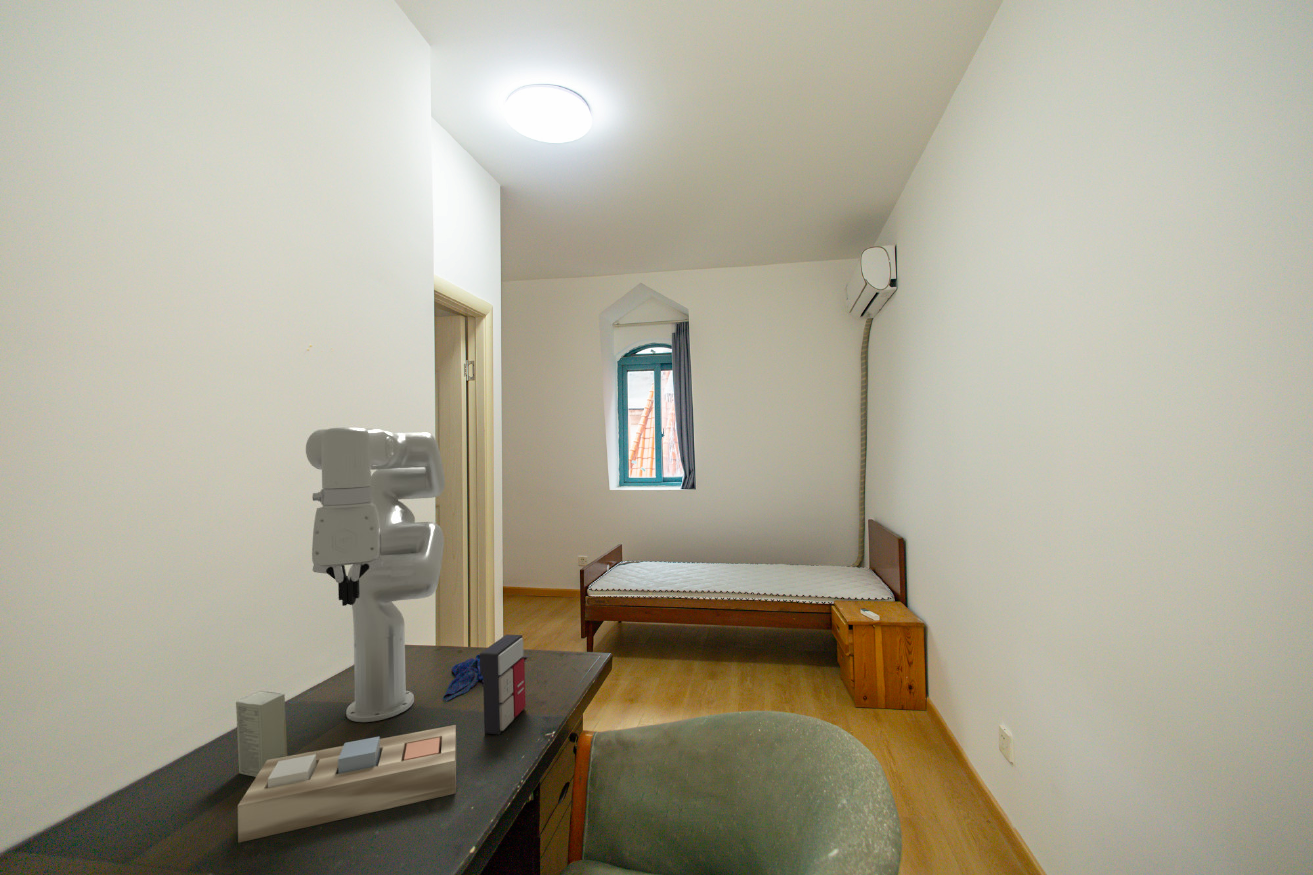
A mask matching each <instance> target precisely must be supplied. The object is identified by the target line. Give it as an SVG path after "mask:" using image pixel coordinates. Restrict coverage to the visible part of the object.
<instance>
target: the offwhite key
mask: <svg viewBox="0 0 1313 875" xmlns="http://www.w3.org/2000/svg"><path fill="white" fill-rule="evenodd" d="M315 768H316V754H314V755H308V756H303V757H298V758H293V759H287V760H282V761H278V763H277V765H276V766H275V768H274V770H273V771H272V773H271V775H270V776H269V778H268V788H271V787H276V786H281V785H286V784H291V783H296V782H301V781H306V780H310V779H311V777H312V775H313V773H314V770H315Z"/></svg>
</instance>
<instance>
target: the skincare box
mask: <svg viewBox="0 0 1313 875" xmlns="http://www.w3.org/2000/svg"><path fill="white" fill-rule="evenodd" d="M285 698H286V697H285V693H280V692H272V691H264V690H260V691H257V692H255V693H252V694H250V695H248V696H245V697H243V698H241V699H238V700H237V701H236V702H235V709H236V711H235V712H236V729H237V730H236V731H237V732H236V734H237V751H238V752H237V753H238V754H237V755H238V773H239V774H241V775H246V776H251V777H254V778H256V777H257V775H258V773H259V772H260V770H261V769H262V767H263V766H264V764H265V763H266V761H267V760H270V759H276V758H281V757H286V756H288V742H287V725H286V724H287V722H286V721H287V720H286V699H285Z"/></svg>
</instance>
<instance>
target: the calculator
mask: <svg viewBox="0 0 1313 875" xmlns="http://www.w3.org/2000/svg"><path fill="white" fill-rule="evenodd" d="M525 667H526V666H525V658H524V638H523V635H522V634H505V635H504V636H502V637H501V638H499V639H497V640H496V642H494V643H493V644H491V645H490V646H488V647H487V648H485V649H484V650H483V651H481V652H480V653H479V673H480V676H481V677H482V679H483V680H482V682H483V685H482V686H483V688H482V689H483V722H484V723H483V724H484V726H483V727H484V728H483V731H484V733H485V734H490V735H500V734H501V733H503V731H504V730H505V729H506V728H508V726H509V725H510V724H511V723H512V722H513V721H514V719H515V718H517V716H519V715H520V713H521V712H522V711H523V710H524V709H525V708H526V668H525Z"/></svg>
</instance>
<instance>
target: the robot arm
mask: <svg viewBox="0 0 1313 875" xmlns="http://www.w3.org/2000/svg"><path fill="white" fill-rule="evenodd" d="M305 454H306V458H307V461H308V462H309V464H310V465H311V466H312V467H314V468H315V469H317V470H320V471H321V483H322V484H321V489H320V491H318V492H314V493H313V492H312V501H313V502H317V501H318V502H320V503H321V507H320V506H319V507H317V508H316V511H315V515H314V520H313V521H314V523H313V531H312V532H313V533H312V545H311V546H312V547H311V548H312V549H311V550H312V551H311V561H312V563H313V566H312V572H313V573H317V574H325V575H326V574H327V575H328V576H329V577H331V578H333V580H335V582H336V583H338V584H337V585H338V586H337V587H338V594H337V595H338V601H341V603H342V604H341V605H342V606H345V607H346V606H347V605H349V606H351V609H352V620H353V661H354V662H353V663H354V664H353V670H354V671H353V672H354V673H353V674H354V701H353V702H351V703H350V704H348V706H347V708H346V712H345V713H346V717H347V719H348V720H350V721H352V722H357V723H370V722H372V723H373V722H378V721H381V720H386V719H389V718H392V717H395V716H398V715H400V714H401V713H404V712H405V711H408V709H409V708H411V707H412V706H413V704H414V702H415V695H414V693H413V692H412V691H409V690H406V689H407V688H406V684H407V683H406V644H405V643H406V640H405V638H406V636H405V633H406V632H405V629H406V628H405V620H404V616H403V614H402V612H401V611H400V609H399V608H398V607H397V606H396V605H395V604H394V602H396V601H397V602H398V601H410V600H417V599H425V598H429V597H431V596H433V595H434V593H435V592H436V591H437V589H438V585H439V580H440V576H441V569H442V562H443V556H444V548H445V541H444V539H445V538H444V533H443V529H442V527H440V525H439V524H437V523H436V522H433V521H418V522H417V521H416V518H415V517H416V516H415V514H414V512H412V510H411V509H410V508H409V507H408V506H407V505H406V504H404V503H403V502H401V501H400V500H410V499H411V500H415V499H433V498H436V497H439V496H441V495H442V494H443V492H444V490H445V487H446V486H445V485H446V476H445V471H444V466H443V460H442V456H441V451H440V447H439V444H438V441H437V440H436V438H435V437H434V436H433V435H432V434H431V433H429V432H427V431H426V432H424V431H420V432H419V431H418V432H416V431H415V432H414V431H413V432H411V431H410V432H391V431H387V430H383V429H382V428H381V429H379V428H361V427H332V428H331V427H330V428H328V429H327V428H326V429H325V428H324V429H317V430H315V431H313V432H312V433H311V434H310V435H309V436H308V438H307V440H306V444H305ZM373 470H375V471H373ZM372 471H373V473H372ZM349 565H350V568H349V570H348V572H347V570H346V567H345V566H349Z"/></svg>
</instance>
